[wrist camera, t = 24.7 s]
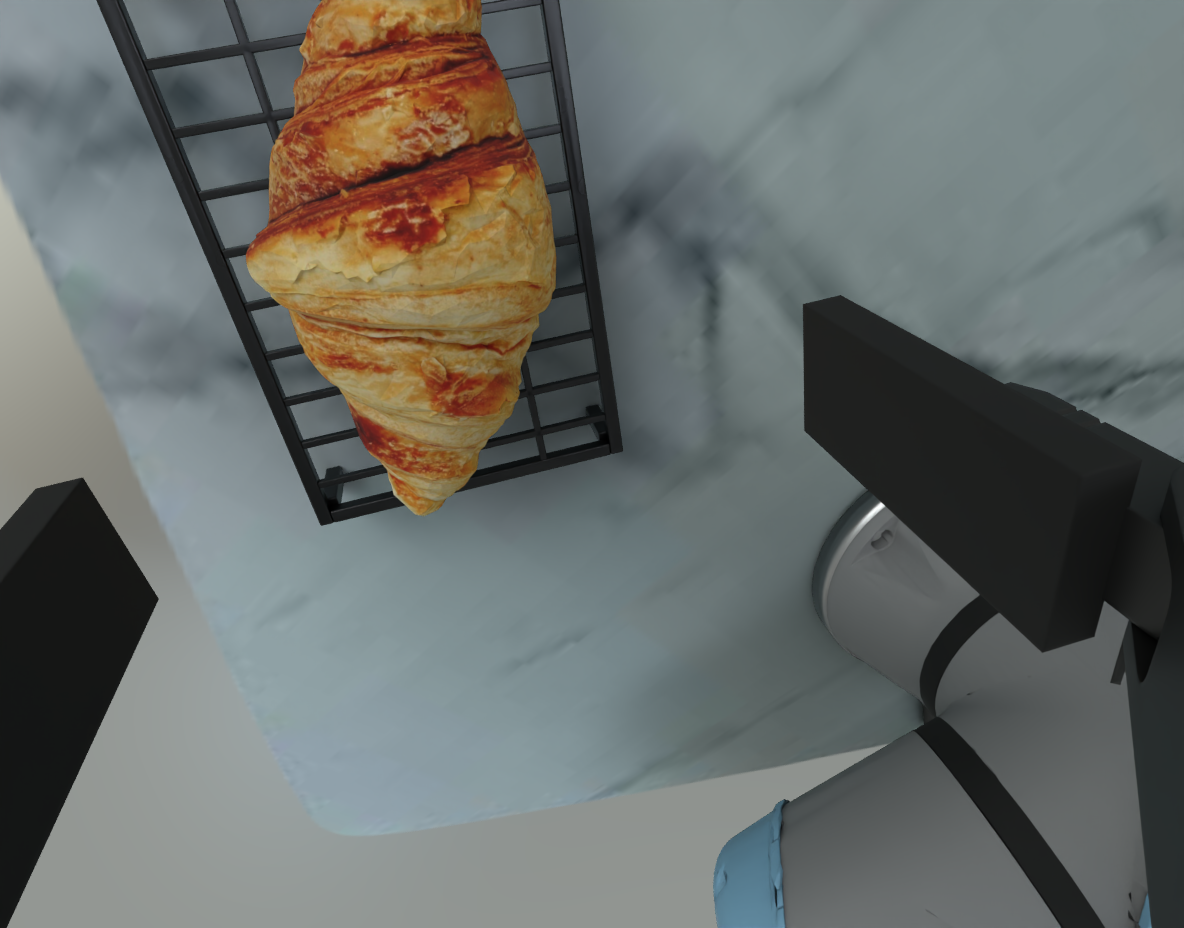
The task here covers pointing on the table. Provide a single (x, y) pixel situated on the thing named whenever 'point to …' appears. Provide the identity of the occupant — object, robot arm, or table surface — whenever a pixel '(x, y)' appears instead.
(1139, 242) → the table surface
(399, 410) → the croissant
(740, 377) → the table surface
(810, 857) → the robot arm
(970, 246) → the table surface
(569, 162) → the cooling rack
